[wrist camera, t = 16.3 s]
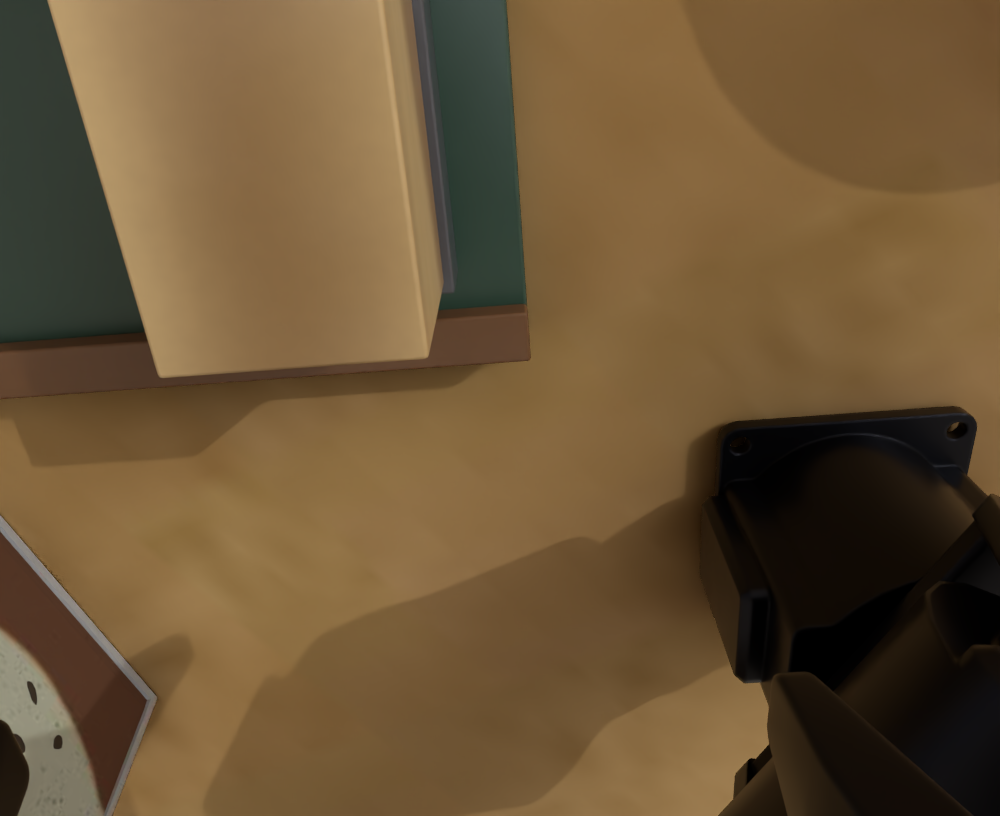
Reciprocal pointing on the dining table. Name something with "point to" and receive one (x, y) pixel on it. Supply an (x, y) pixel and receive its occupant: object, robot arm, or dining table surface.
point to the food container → (64, 692)
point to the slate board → (99, 261)
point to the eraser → (269, 175)
